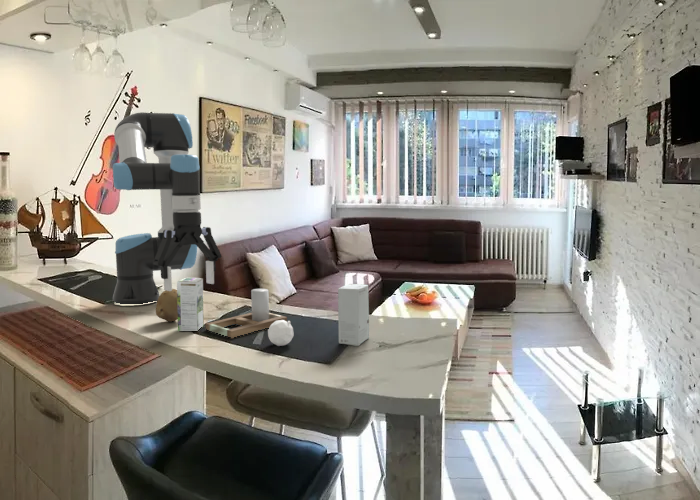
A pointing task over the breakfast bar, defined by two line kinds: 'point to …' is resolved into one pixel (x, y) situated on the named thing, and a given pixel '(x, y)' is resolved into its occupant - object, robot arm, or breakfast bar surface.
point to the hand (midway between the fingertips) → (189, 286)
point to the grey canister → (260, 304)
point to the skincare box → (353, 314)
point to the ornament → (280, 332)
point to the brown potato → (167, 306)
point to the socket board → (243, 320)
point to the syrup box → (190, 304)
